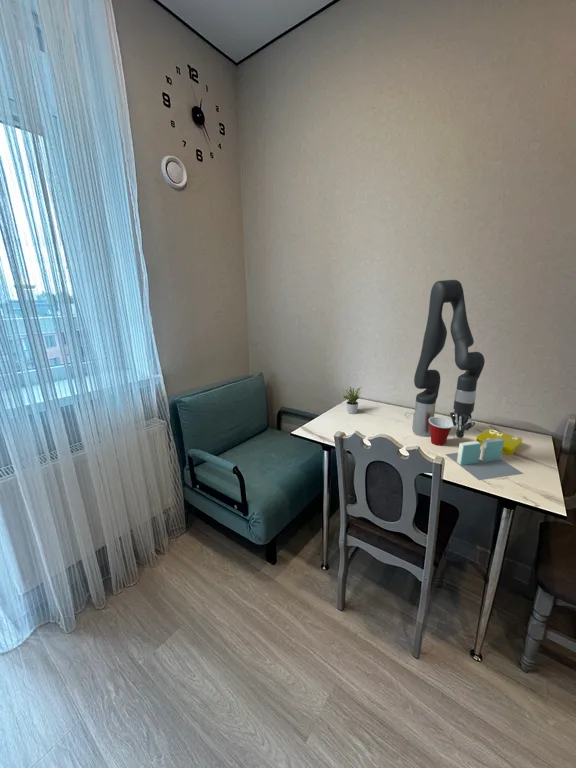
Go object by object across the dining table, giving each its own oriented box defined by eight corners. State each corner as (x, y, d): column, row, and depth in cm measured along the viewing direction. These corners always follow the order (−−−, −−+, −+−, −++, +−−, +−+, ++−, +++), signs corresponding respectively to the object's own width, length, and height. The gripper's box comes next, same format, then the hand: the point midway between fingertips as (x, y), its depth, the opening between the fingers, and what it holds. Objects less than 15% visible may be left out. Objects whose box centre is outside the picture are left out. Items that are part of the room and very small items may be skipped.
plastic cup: (443, 452, 144) (446, 428, 140) (421, 443, 152) (423, 420, 149) (455, 445, 150) (458, 421, 147) (433, 437, 158) (436, 414, 155)
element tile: (473, 445, 150) (475, 436, 148) (486, 435, 159) (488, 427, 157) (510, 458, 139) (512, 448, 137) (521, 446, 148) (524, 437, 146)
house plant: (351, 405, 202) (352, 381, 197) (369, 411, 192) (370, 386, 187) (336, 411, 193) (336, 386, 188) (354, 418, 183) (355, 391, 178)
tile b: (479, 458, 137) (482, 440, 134) (495, 456, 138) (499, 437, 135) (484, 461, 134) (487, 442, 132) (500, 459, 136) (504, 440, 133)
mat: (445, 455, 141) (445, 454, 141) (484, 450, 145) (484, 448, 144) (478, 481, 123) (479, 480, 122) (523, 475, 126) (523, 473, 126)
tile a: (456, 462, 135) (459, 443, 132) (473, 459, 136) (476, 440, 133) (460, 465, 132) (463, 445, 130) (477, 462, 134) (481, 443, 131)
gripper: (446, 395, 138) (441, 431, 143) (467, 405, 126) (462, 445, 131) (461, 393, 139) (456, 430, 144) (484, 404, 127) (478, 443, 132)
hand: (459, 437), depth 137 cm, fingers closed
